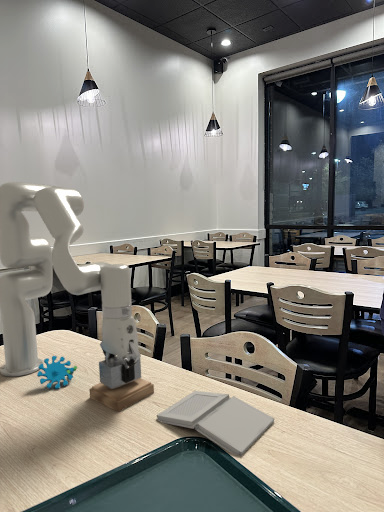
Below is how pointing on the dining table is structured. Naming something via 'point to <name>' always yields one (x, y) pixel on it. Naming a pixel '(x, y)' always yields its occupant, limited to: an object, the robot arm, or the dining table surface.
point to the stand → (122, 393)
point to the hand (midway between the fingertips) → (120, 377)
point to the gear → (56, 372)
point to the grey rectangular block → (116, 371)
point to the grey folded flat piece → (219, 419)
